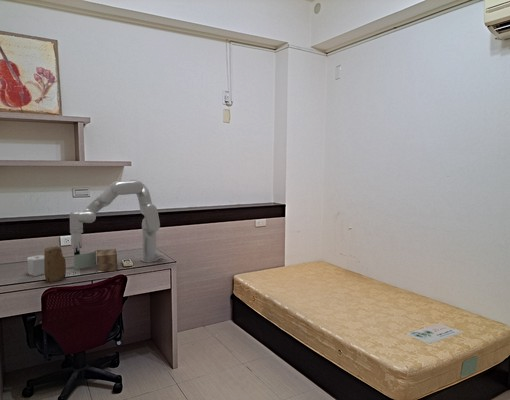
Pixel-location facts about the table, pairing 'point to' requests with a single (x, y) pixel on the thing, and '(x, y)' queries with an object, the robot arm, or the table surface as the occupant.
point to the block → (54, 264)
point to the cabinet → (107, 260)
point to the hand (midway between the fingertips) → (77, 257)
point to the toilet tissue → (36, 265)
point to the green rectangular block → (84, 260)
